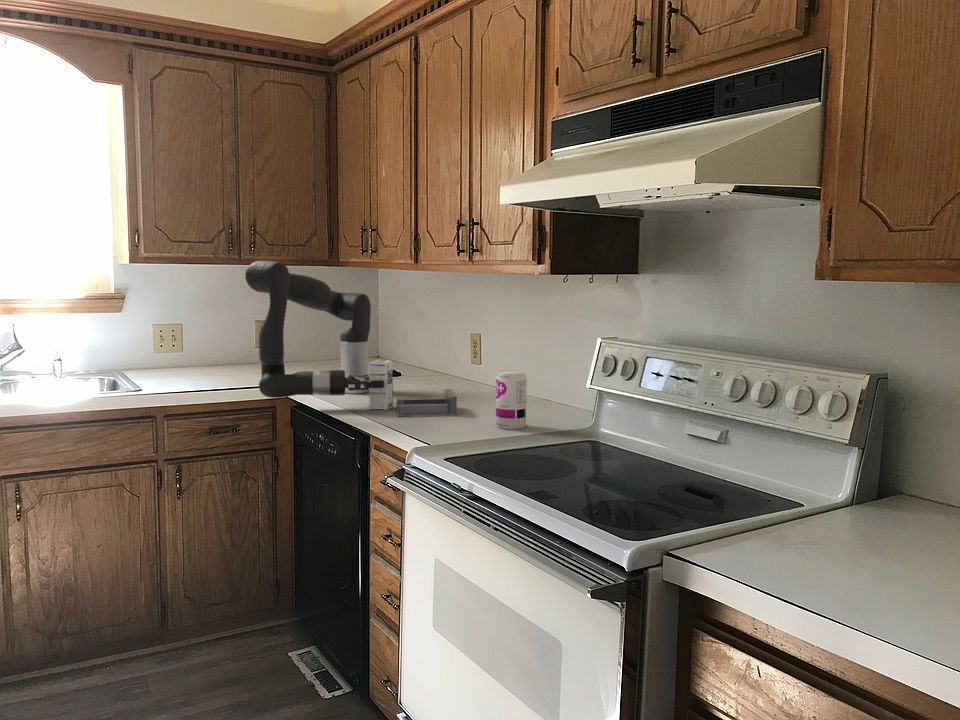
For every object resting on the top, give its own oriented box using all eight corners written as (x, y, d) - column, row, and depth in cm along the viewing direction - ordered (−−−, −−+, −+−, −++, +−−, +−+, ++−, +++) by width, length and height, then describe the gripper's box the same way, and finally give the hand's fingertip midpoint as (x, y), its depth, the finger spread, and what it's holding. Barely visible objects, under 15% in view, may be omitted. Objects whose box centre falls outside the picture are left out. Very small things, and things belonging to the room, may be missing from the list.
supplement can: (501, 430, 215) (501, 374, 213) (492, 424, 222) (492, 370, 220) (530, 429, 217) (531, 373, 215) (520, 423, 225) (520, 369, 223)
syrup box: (387, 410, 242) (387, 362, 240) (368, 409, 243) (368, 361, 241) (393, 407, 247) (393, 359, 245) (375, 406, 248) (374, 359, 247)
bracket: (396, 407, 246) (396, 390, 245) (451, 406, 248) (452, 389, 247) (398, 416, 232) (398, 398, 231) (457, 415, 234) (457, 396, 234)
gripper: (327, 373, 234) (384, 373, 237) (329, 367, 248) (382, 366, 251) (328, 399, 235) (384, 398, 238) (330, 391, 249) (383, 390, 252)
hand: (383, 382), depth 244 cm, fingers open, 8 cm apart
